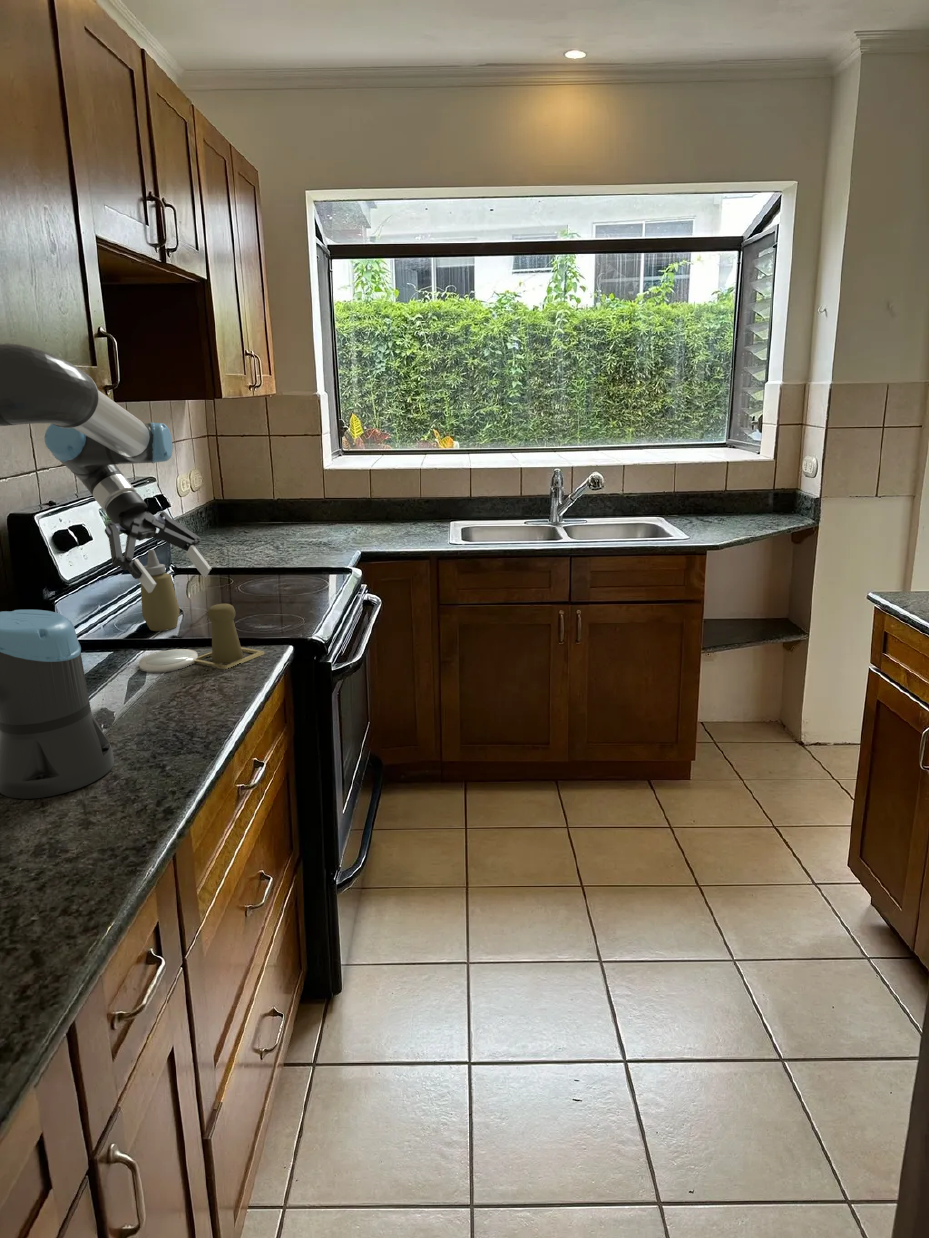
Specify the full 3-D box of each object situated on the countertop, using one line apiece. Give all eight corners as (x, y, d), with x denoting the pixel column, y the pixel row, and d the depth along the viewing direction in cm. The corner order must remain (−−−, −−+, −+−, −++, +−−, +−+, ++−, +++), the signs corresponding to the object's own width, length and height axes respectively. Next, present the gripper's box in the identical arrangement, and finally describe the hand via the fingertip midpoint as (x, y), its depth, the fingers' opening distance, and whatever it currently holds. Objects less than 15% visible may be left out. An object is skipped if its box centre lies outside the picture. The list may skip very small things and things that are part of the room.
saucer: (164, 675, 157) (163, 670, 157) (127, 667, 163) (126, 662, 162) (209, 658, 166) (209, 652, 165) (173, 651, 172) (172, 645, 171)
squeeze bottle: (158, 635, 183) (145, 555, 178) (137, 630, 188) (124, 552, 183) (189, 625, 189) (177, 548, 184) (168, 621, 194) (156, 545, 189)
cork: (247, 653, 168) (240, 600, 165) (237, 663, 162) (229, 608, 159) (218, 653, 168) (211, 601, 165) (207, 663, 163) (199, 609, 159)
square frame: (225, 669, 158) (225, 666, 158) (190, 662, 164) (190, 659, 164) (264, 654, 166) (264, 651, 166) (229, 647, 172) (229, 644, 172)
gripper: (165, 505, 183) (221, 578, 179) (59, 525, 163) (120, 607, 159) (177, 481, 178) (235, 555, 175) (70, 499, 158) (133, 583, 155)
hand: (181, 580), depth 167 cm, fingers open, 13 cm apart
